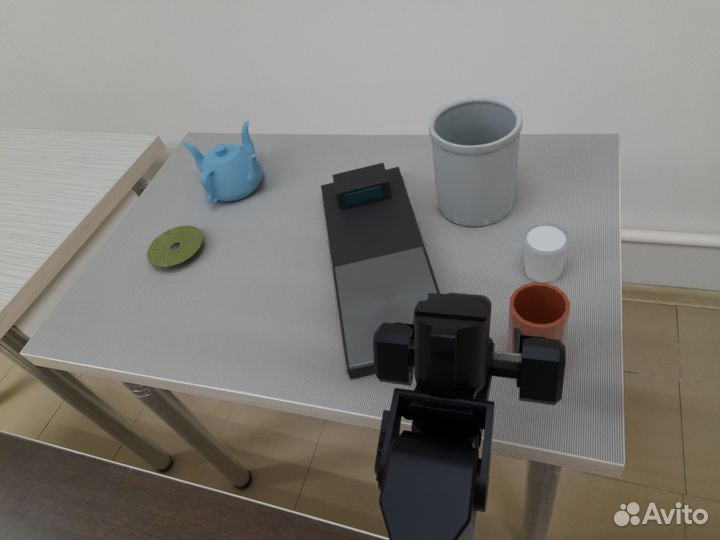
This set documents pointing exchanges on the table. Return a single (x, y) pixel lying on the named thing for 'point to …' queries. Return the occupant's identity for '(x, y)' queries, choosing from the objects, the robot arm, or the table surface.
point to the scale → (373, 257)
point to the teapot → (229, 169)
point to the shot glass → (545, 251)
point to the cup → (538, 312)
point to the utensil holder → (476, 158)
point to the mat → (174, 246)
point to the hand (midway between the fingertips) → (474, 327)
